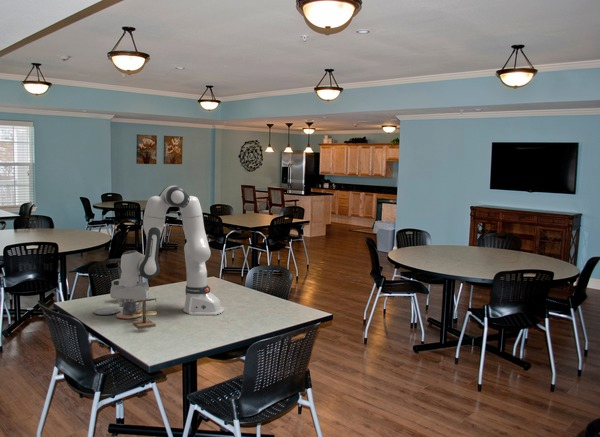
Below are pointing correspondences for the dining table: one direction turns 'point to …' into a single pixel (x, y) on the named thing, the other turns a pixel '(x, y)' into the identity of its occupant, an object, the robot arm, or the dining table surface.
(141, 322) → the balance
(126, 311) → the block
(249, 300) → the dining table surface
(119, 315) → the terracotta dish
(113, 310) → the grey dish
